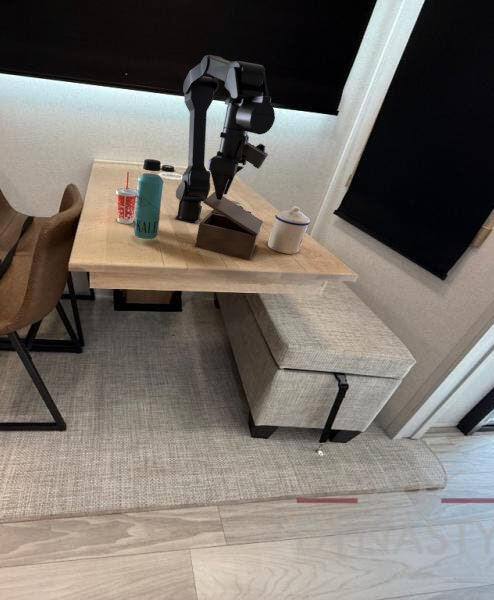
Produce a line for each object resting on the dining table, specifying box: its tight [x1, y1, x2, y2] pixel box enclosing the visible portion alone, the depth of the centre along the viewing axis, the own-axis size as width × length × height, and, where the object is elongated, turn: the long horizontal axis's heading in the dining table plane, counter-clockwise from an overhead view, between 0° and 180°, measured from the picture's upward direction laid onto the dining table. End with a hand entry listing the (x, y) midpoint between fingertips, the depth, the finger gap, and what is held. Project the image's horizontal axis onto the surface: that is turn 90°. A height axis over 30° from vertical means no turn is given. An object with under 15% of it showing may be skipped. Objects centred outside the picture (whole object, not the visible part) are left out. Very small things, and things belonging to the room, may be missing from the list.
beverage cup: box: [115, 171, 137, 225], centre depth 94 cm, size 6×6×14 cm
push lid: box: [231, 200, 241, 206], centre depth 109 cm, size 4×4×2 cm
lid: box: [202, 191, 263, 236], centre depth 85 cm, size 15×12×1 cm
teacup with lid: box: [267, 205, 311, 255], centre depth 91 cm, size 12×9×12 cm
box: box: [195, 212, 262, 261], centre depth 88 cm, size 15×12×6 cm
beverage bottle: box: [133, 158, 164, 240], centre depth 81 cm, size 6×7×20 cm
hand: (221, 196), depth 84 cm, fingers open, 6 cm apart
